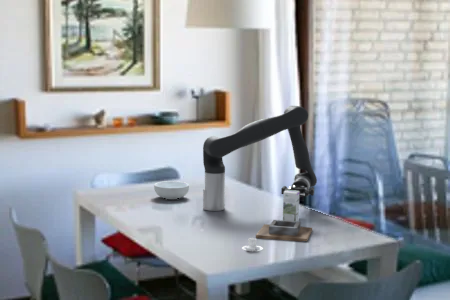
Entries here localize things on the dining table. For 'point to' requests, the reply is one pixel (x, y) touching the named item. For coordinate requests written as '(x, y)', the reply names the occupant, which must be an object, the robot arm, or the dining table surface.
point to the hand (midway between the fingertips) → (295, 194)
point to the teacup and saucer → (252, 245)
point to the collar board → (284, 231)
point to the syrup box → (291, 205)
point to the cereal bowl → (171, 189)
